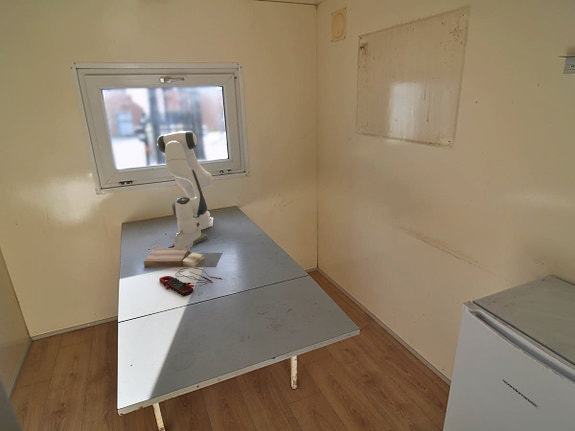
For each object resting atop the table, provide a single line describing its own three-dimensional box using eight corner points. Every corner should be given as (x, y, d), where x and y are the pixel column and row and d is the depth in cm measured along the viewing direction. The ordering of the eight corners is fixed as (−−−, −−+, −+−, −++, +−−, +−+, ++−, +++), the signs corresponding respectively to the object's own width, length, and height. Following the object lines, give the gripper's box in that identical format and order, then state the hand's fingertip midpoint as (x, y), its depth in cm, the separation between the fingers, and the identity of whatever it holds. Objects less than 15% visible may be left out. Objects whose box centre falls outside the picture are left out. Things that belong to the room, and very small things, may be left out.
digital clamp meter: (184, 294, 153) (154, 275, 168) (185, 302, 155) (155, 283, 170) (224, 272, 170) (193, 257, 185) (225, 280, 172) (194, 265, 187)
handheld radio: (201, 236, 220) (167, 250, 202) (200, 231, 219) (166, 245, 201) (207, 239, 216) (173, 253, 198) (207, 234, 215) (173, 248, 197)
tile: (193, 256, 194) (192, 252, 193) (203, 258, 192) (203, 254, 191) (182, 264, 185) (182, 260, 184) (193, 266, 183) (193, 262, 182)
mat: (190, 253, 199) (190, 252, 199) (221, 253, 198) (221, 252, 198) (182, 267, 184) (182, 266, 184) (215, 267, 183) (215, 266, 183)
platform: (155, 253, 199) (154, 247, 198) (189, 253, 199) (189, 247, 197) (144, 267, 184) (143, 261, 183) (181, 267, 184) (180, 261, 183)
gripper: (179, 235, 174) (183, 259, 179) (201, 221, 192) (204, 243, 197) (169, 234, 176) (173, 257, 181) (192, 219, 194) (195, 241, 199)
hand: (189, 250), depth 189 cm, fingers closed
